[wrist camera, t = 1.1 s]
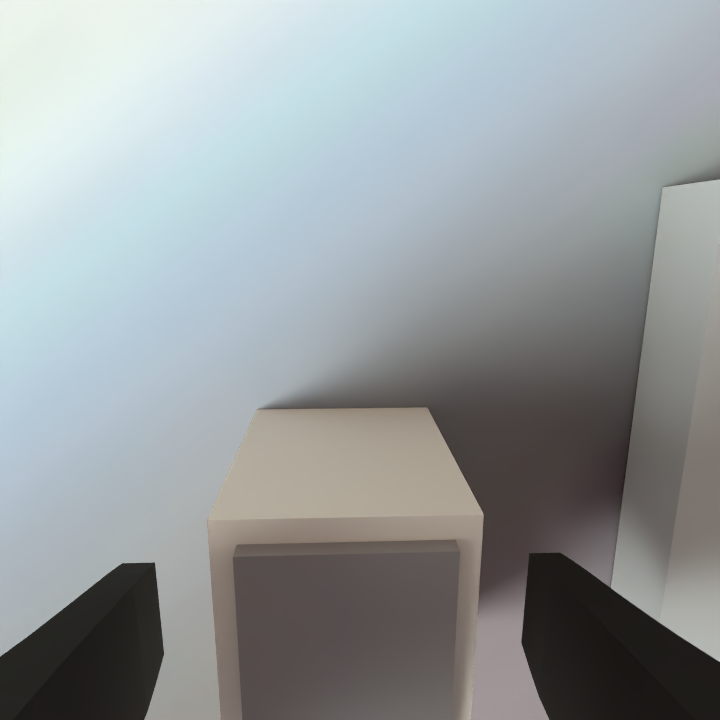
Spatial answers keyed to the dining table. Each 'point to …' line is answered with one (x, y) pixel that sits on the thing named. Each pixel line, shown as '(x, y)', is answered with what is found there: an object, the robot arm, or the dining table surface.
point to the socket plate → (677, 429)
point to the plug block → (345, 570)
